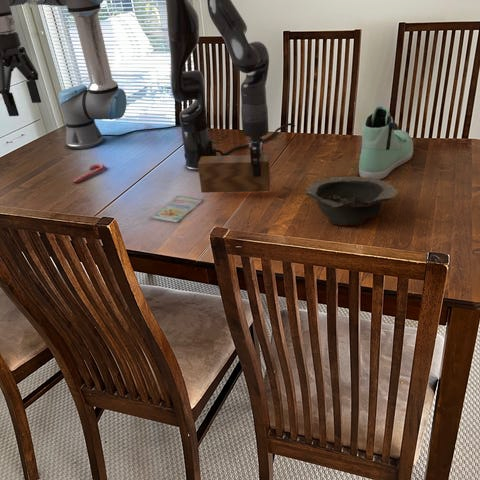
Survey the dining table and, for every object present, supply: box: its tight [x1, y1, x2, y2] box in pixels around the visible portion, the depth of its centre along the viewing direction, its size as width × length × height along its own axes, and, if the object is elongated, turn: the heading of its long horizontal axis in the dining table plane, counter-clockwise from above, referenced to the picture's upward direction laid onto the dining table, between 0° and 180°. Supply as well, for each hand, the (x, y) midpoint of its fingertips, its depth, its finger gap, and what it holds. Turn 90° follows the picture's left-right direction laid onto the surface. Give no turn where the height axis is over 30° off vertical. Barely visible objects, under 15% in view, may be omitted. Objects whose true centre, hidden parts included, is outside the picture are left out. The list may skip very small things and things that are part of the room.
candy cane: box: [73, 163, 106, 184], centre depth 174 cm, size 6×15×2 cm, turn 145°
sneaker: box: [358, 105, 414, 180], centre depth 160 cm, size 14×35×20 cm, turn 152°
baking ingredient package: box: [151, 196, 203, 223], centre depth 146 cm, size 9×1×15 cm
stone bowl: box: [304, 175, 398, 227], centre depth 135 cm, size 25×25×9 cm
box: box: [198, 154, 271, 194], centre depth 147 cm, size 21×6×10 cm, turn 84°
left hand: (25, 109), depth 144 cm, fingers open, 13 cm apart
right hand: (257, 171), depth 146 cm, fingers closed on box, 6 cm apart
